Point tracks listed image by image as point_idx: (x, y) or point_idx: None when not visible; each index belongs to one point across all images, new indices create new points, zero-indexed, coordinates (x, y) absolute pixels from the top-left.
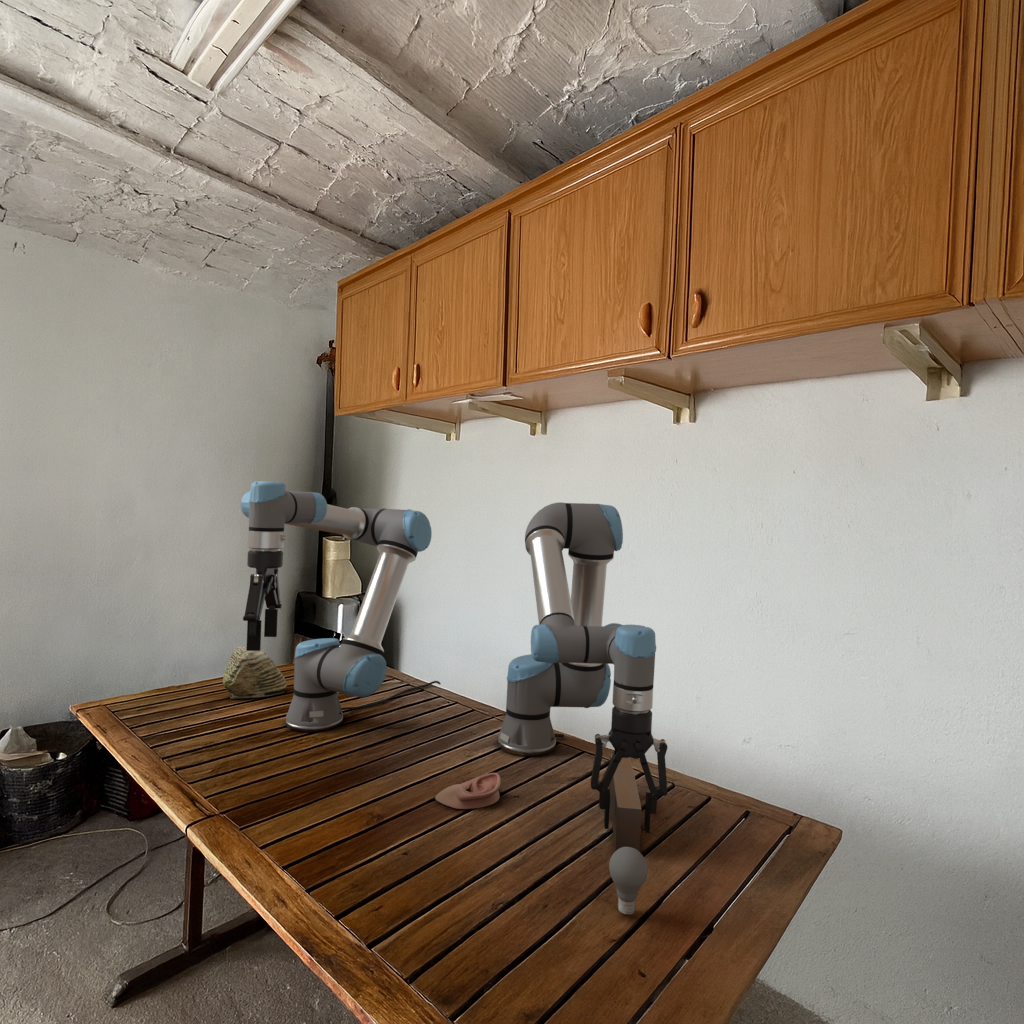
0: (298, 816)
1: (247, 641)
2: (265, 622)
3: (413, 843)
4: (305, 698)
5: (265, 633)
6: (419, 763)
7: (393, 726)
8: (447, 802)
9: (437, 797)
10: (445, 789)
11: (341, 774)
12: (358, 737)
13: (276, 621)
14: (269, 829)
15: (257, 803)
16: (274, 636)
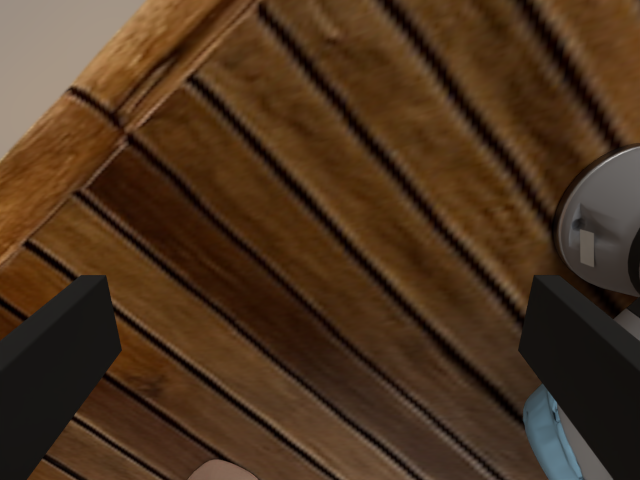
0: (136, 277)
1: (40, 314)
2: (606, 350)
3: (84, 435)
4: (636, 230)
5: (544, 297)
6: (355, 434)
7: None
8: (195, 476)
9: (210, 464)
10: (230, 477)
11: (309, 319)
12: (502, 326)
13: (589, 444)
14: (85, 241)
15: (176, 195)
16: (522, 343)
